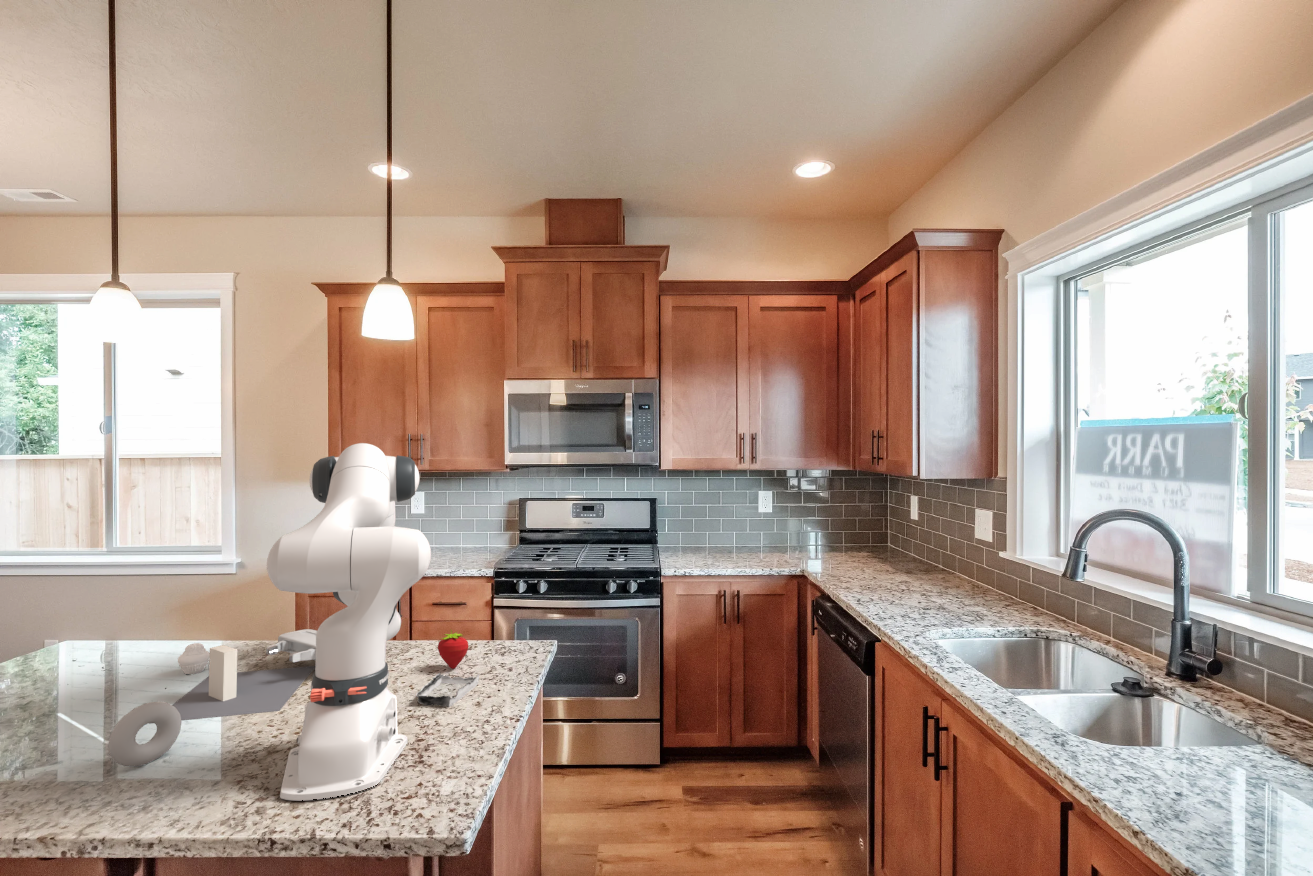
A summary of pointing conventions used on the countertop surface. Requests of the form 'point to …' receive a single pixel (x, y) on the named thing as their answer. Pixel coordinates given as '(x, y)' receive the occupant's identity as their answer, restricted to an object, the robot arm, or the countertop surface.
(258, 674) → the mat
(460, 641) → the strawberry
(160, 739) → the donut
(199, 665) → the muffin
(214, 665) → the card box
